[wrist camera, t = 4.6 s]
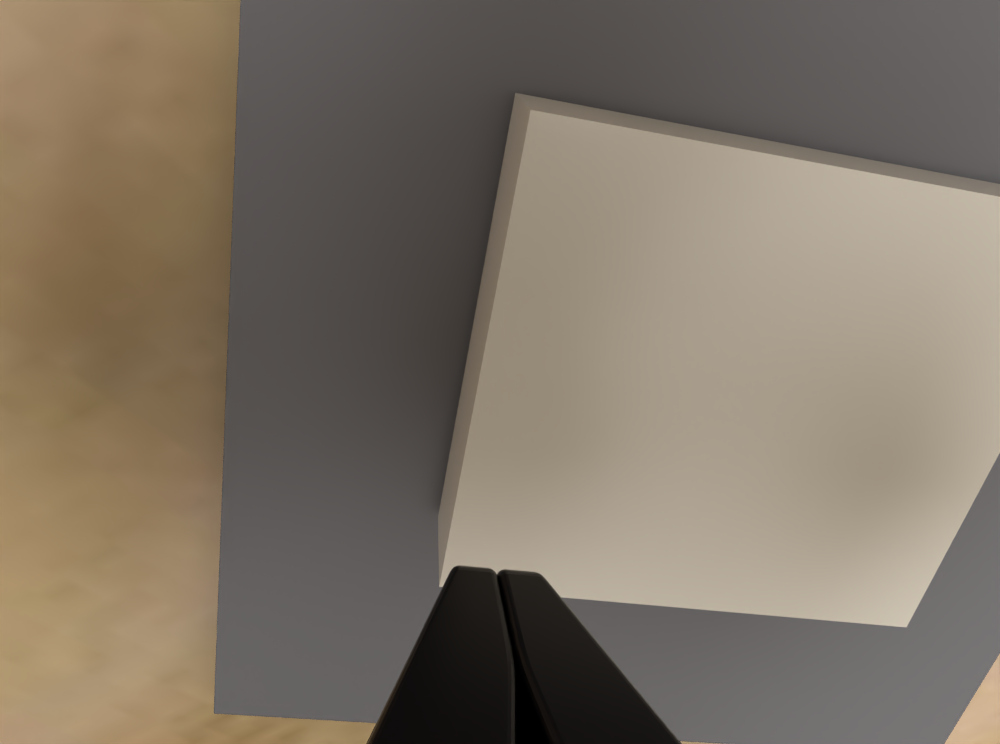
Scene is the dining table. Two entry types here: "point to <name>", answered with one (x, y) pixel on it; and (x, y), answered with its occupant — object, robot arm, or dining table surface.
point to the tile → (724, 371)
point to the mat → (450, 315)
